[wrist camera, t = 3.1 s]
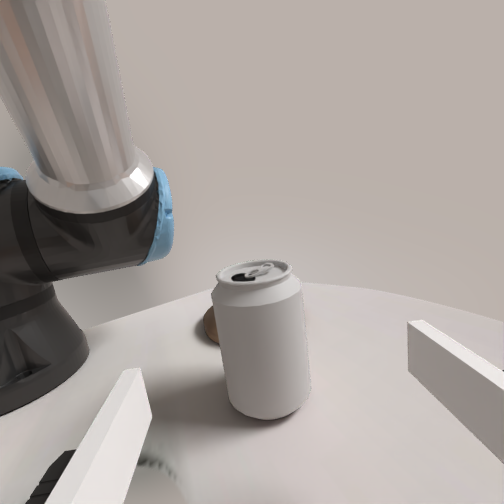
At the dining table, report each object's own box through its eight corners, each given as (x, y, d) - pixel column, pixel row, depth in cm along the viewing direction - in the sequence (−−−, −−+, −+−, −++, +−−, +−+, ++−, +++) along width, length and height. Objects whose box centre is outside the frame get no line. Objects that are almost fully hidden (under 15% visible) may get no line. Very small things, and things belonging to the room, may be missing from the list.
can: (219, 383, 28) (199, 267, 25) (287, 359, 30) (275, 250, 27) (245, 443, 21) (220, 292, 18) (330, 405, 23) (319, 267, 21)
